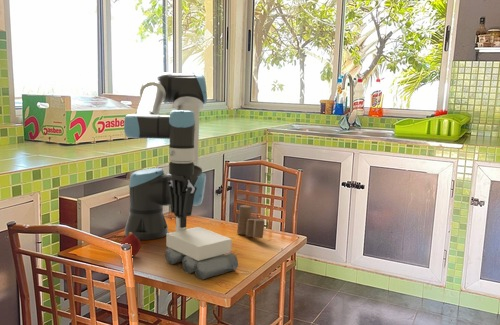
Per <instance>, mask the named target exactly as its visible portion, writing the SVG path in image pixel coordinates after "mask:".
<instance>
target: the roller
mask: <svg viewBox="0 0 500 325" xmlns="http://www.w3.org/2000/svg"><path fill="white" fill-rule="evenodd" d="M238 267H239V260H238V258H237V255H236V254H234V253H233V252H230V253H226V254H225V255H222V256H218V257H215V258H211V259H207V260H203V261H200V262H197V263H196V264H195V266H194V271H195V272H194V274H195V277H196V278H197V279H199V280H201V281H203V280H207V279H209V278H213V277H216V276H220V275H224V274H225V273H226V274H227V273H229V272H232V271H236V270H238Z"/></svg>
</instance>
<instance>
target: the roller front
mask: <svg viewBox="0 0 500 325" xmlns="http://www.w3.org/2000/svg"><path fill="white" fill-rule="evenodd" d="M222 255H226V254H222ZM222 255H218V256H222ZM218 256H215V257H218ZM215 257H211V258H215ZM211 258H207V259H211ZM207 259H203V260H207ZM203 260H199V261H198V260H195V259H193V258H191V257H189V256H185V257H184V258H183V260H182V262H181V263H182V268H183V270H184V272H185V273H187V274H192V273H195V271H194V266H195V264H196V263H197V262H200V261H203Z"/></svg>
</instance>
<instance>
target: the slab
mask: <svg viewBox="0 0 500 325" xmlns="http://www.w3.org/2000/svg"><path fill="white" fill-rule="evenodd" d="M165 238H166V244H165V245H166V247H167V248H171V249H174V250H176V251H178V252H180V253H182V254H185V255H187V256H189V257H191V258H193V259H195V260H198V261H199V260H203V259H207V258H211V257H215V256H218V255H222V254H225V255H226V254H229V253H232V240H233V238H230V237H228V236H224V235H223V234H220V233H216V232H214V231H211V230H210V229H206V228H203V227H200V226H195V227H191V228H186V229H185V230H180V231H176V230H175V231H171V232H168V233H166V236H165Z"/></svg>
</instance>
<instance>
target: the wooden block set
mask: <svg viewBox="0 0 500 325" xmlns="http://www.w3.org/2000/svg"><path fill="white" fill-rule="evenodd" d="M251 214H252V206H250V205H244V204H243V205H239V210H238V217H237V218H238V219H237V220H238V222H237V232H236V233H237V234H238V235H242V236H243V235H245V236H246V237H251V238H256V239H263V238H264V230H265V229H264V227H265V220H264V219H263V218H259V217H251Z"/></svg>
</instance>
